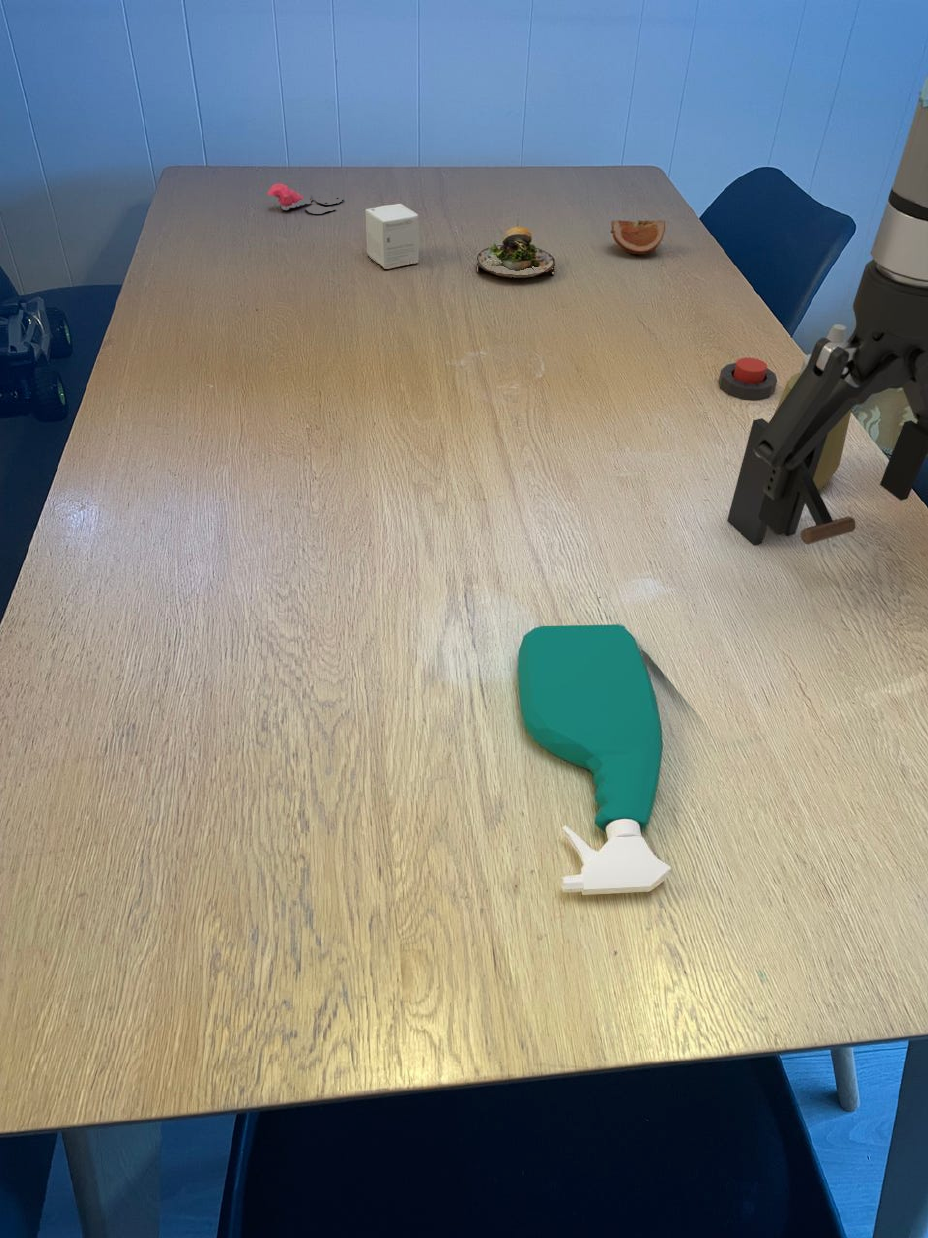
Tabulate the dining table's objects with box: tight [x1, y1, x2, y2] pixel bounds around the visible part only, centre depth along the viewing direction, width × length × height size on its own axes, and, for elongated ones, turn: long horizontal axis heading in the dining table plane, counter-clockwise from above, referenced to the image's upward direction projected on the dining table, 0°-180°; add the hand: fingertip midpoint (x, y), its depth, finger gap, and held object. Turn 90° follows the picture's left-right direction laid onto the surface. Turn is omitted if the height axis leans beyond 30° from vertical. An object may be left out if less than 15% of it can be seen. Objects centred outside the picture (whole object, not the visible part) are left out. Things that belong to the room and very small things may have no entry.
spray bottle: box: [517, 623, 672, 896], centre depth 71 cm, size 3×11×24 cm
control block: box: [718, 362, 778, 402], centre depth 112 cm, size 10×7×3 cm
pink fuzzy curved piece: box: [266, 182, 304, 207], centre depth 159 cm, size 12×11×4 cm
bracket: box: [726, 417, 828, 547], centre depth 89 cm, size 9×7×13 cm
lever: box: [791, 447, 857, 545], centre depth 85 cm, size 11×5×2 cm, turn 24°
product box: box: [365, 203, 420, 266], centre depth 141 cm, size 6×6×7 cm
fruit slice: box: [610, 219, 666, 256], centre depth 146 cm, size 8×7×5 cm
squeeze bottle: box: [774, 323, 853, 491], centre depth 94 cm, size 8×8×18 cm
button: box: [733, 357, 768, 384], centre depth 112 cm, size 4×4×2 cm
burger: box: [476, 213, 556, 279], centre depth 139 cm, size 12×12×8 cm
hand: (833, 508), depth 82 cm, fingers open, 13 cm apart
